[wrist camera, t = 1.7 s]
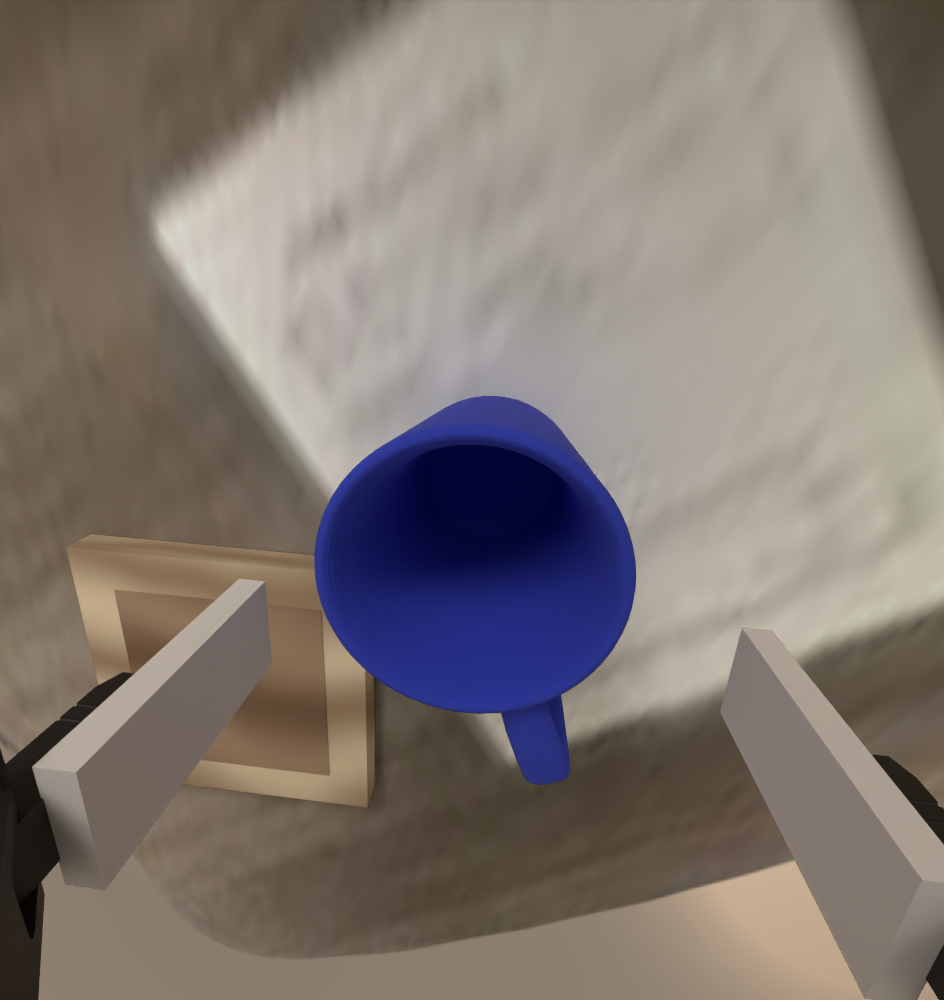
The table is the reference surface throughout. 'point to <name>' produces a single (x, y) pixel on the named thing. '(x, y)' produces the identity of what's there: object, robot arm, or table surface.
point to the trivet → (281, 690)
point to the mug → (479, 570)
